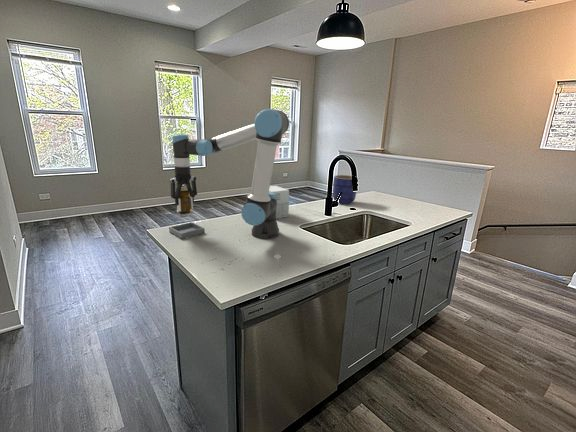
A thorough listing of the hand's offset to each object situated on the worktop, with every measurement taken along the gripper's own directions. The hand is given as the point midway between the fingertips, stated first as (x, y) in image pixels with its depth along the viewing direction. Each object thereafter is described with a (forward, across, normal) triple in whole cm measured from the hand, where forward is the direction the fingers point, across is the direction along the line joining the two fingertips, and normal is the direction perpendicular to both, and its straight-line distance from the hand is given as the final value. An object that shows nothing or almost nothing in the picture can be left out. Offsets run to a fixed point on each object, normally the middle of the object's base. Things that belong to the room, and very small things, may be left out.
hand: (185, 209), depth 158 cm
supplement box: (+13, -59, +6) cm, 61 cm away
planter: (+13, -124, +18) cm, 126 cm away
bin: (+13, 0, 0) cm, 13 cm away
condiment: (+2, 0, 0) cm, 2 cm away
